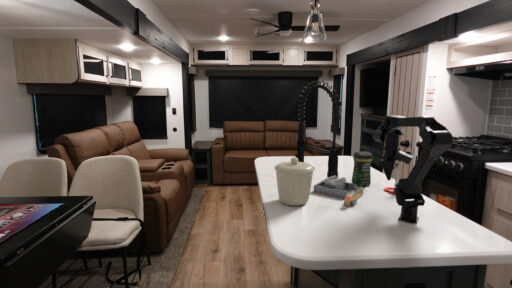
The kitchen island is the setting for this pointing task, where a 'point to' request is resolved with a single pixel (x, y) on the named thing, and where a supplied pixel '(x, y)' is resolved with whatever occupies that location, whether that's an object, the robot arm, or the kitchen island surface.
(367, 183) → the coffee jar
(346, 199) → the lock bar
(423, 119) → the robot arm
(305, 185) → the canister
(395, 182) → the tow hook
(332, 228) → the kitchen island surface
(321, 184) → the dock
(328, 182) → the block
